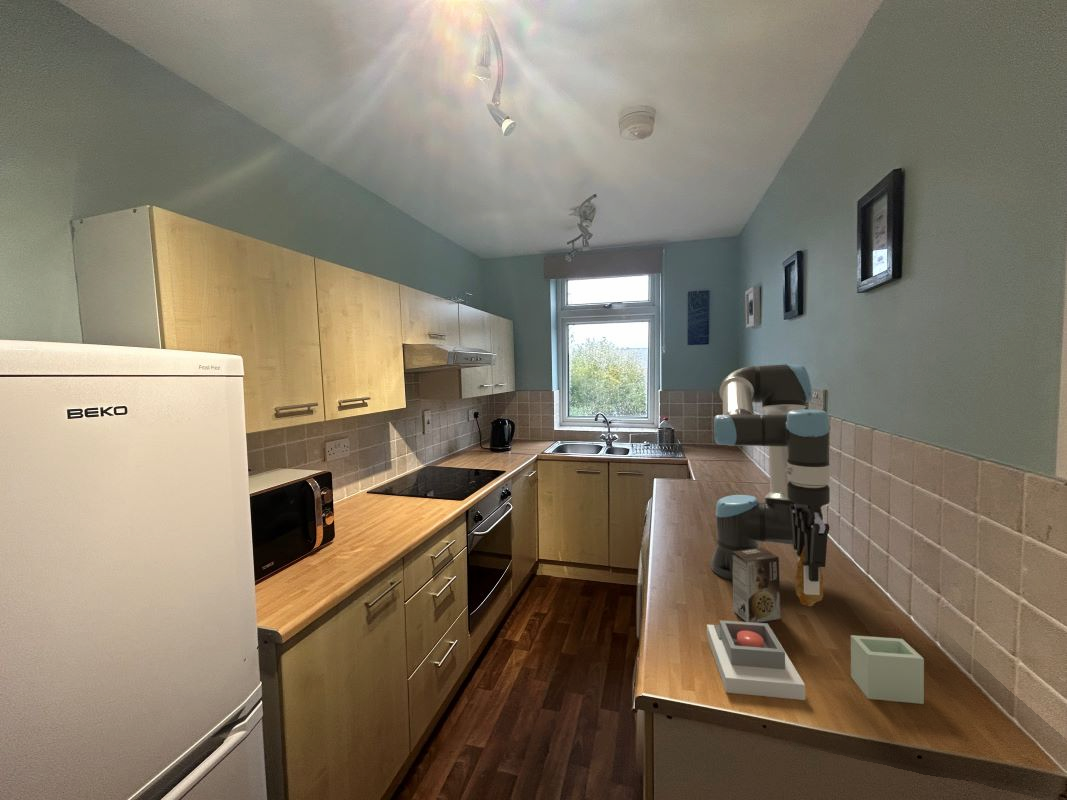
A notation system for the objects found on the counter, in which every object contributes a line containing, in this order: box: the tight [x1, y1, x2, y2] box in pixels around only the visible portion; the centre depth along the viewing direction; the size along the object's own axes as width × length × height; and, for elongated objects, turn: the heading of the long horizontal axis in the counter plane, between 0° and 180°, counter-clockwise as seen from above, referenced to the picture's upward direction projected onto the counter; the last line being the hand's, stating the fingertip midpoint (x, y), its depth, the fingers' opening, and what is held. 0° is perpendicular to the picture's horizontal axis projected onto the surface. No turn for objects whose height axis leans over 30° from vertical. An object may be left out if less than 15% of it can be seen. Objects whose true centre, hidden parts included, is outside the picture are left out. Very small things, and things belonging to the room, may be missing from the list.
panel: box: [706, 619, 806, 701], centre depth 90 cm, size 18×14×6 cm
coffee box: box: [732, 547, 782, 623], centre depth 108 cm, size 9×6×16 cm
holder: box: [850, 634, 925, 705], centre depth 82 cm, size 6×9×9 cm, turn 79°
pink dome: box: [737, 631, 764, 648], centre depth 90 cm, size 5×5×3 cm
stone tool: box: [794, 545, 824, 607], centre depth 91 cm, size 5×2×15 cm, turn 80°
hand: (808, 590), depth 91 cm, fingers closed on stone tool, 2 cm apart
